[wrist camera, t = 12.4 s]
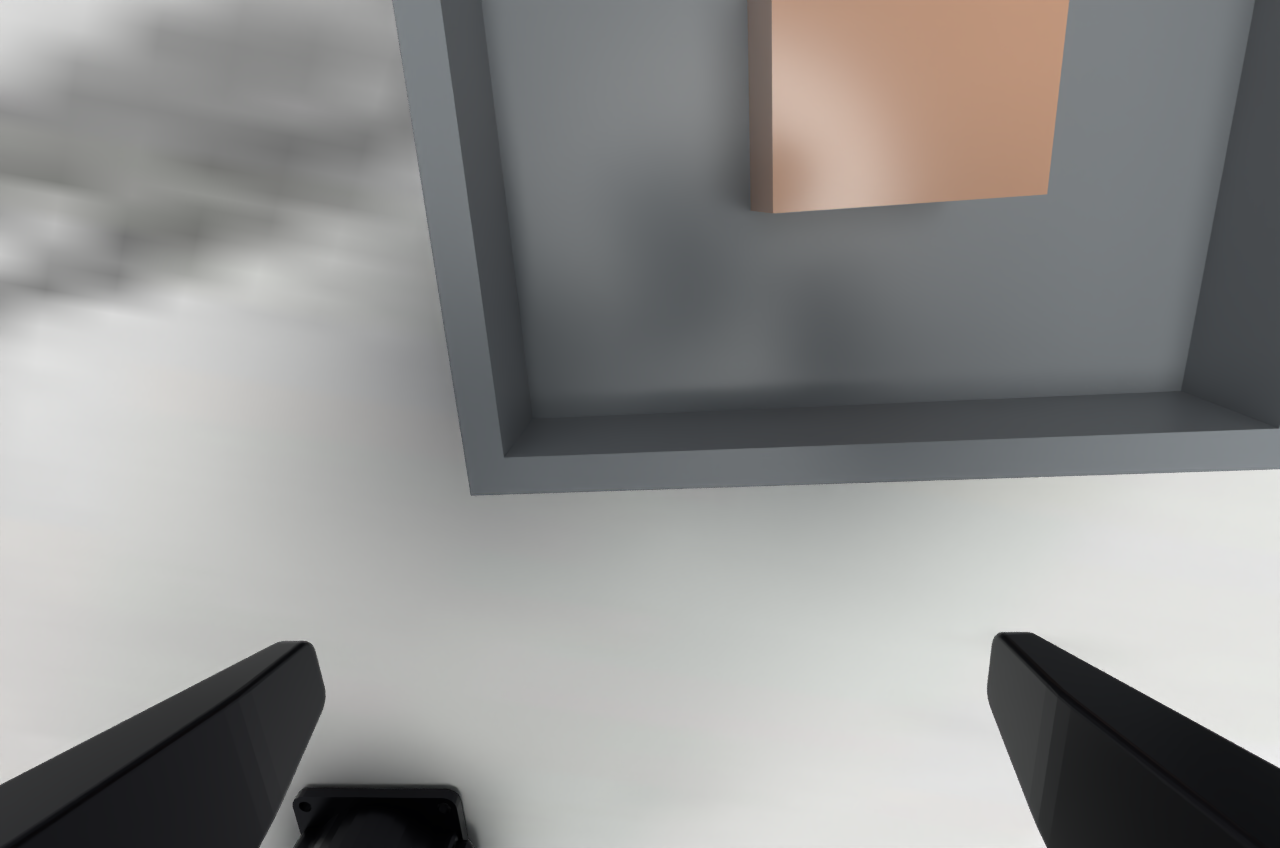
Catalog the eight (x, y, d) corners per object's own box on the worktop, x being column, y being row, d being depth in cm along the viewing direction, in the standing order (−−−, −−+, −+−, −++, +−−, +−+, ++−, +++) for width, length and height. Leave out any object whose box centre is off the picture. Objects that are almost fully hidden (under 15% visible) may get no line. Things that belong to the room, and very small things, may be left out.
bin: (510, 442, 21) (471, 495, 17) (411, -293, 15) (320, -456, 12) (1192, 415, 19) (1316, 467, 15) (1358, -427, 14) (1617, -671, 10)
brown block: (750, 210, 18) (773, 213, 13) (746, -8, 16) (770, -97, 11) (948, 196, 17) (1047, 194, 12) (964, -30, 16) (1084, -133, 11)
